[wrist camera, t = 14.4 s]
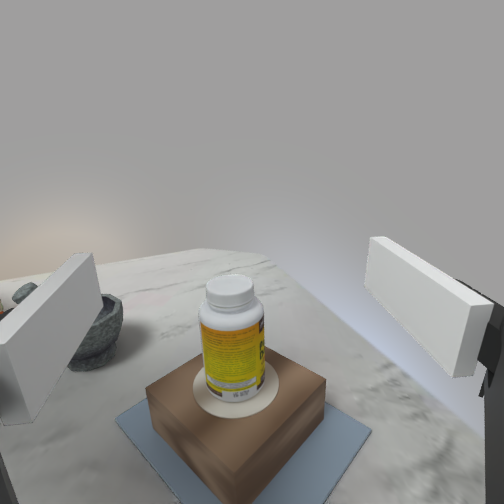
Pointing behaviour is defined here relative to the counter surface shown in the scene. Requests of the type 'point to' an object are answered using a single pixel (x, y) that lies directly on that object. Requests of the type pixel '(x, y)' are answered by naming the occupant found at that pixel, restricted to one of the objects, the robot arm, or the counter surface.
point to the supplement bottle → (232, 338)
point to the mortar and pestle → (91, 332)
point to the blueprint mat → (287, 479)
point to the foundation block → (237, 424)
